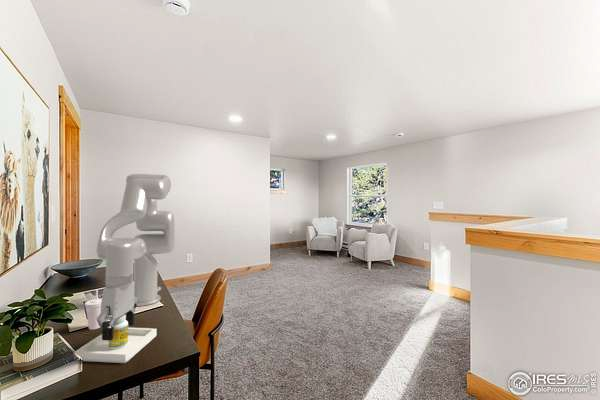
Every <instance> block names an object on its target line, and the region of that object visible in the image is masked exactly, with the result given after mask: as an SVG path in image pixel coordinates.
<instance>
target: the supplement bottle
mask: <svg viewBox="0 0 600 400" xmlns="http://www.w3.org/2000/svg"><path fill="white" fill-rule="evenodd" d="M125 319H126V314H123V315H122V316H120V317H119V318H117V319H115V320H114V323H113V325H112V327H113V340H111V341H110V340H109V348H110V349H119V348H122V347H124V346H126V345H127V343H128V327H129V325H128V321H127V320H125Z"/></svg>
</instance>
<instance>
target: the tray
mask: <svg viewBox="0 0 600 400" xmlns="http://www.w3.org/2000/svg"><path fill="white" fill-rule="evenodd" d="M157 334H158V333H157V328H149V327H130V326H128V343H127V345H126V346H124V347H122V348H119V349H110V348H109V340H102V333H101V334H100V335H98V336H97V337H95V338H93V339H92V340H89V342H87V343H86V344H84V345H83V346H81V347H80V348H78V349H77V350H74V352H75V353H76V354H77V355H79V356H80V357H81V358H82V360H83V361H82V362H97V363H99V362H100V363H116V364H117V363H118V364H126V363H127V362H129V361H130V360H131V359H132V358H133V357H134V356H136V354H138V353H139V352H140V351H141V350H142V349H143V348H144V347H145V346H147V345H148V344H149V343H150V342H151V341H152V340H154V339H155V337H157Z"/></svg>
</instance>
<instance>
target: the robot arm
mask: <svg viewBox="0 0 600 400" xmlns="http://www.w3.org/2000/svg"><path fill="white" fill-rule="evenodd" d="M125 182H126V184H125V188H124V191H123V198H122V203H121V207H120V211H119V212H118V213H116V214H115V215H113V216H112V217H111V218H110V219H109V220H107V222H106V223H105V224H104V225H103V227H102V228H101V230H100V233H99V237H98V240H97V245H96V254H97V258H99V259H100V260H102V261H105V287H104V288H103V291H102V295H101V299H102V301H101V313H100V315H99V316H98V317H97V322H98V323H99V324H98V325H99V326H100V328H101V334H102V340H110V341H111V340H113V327H112V325H113V323H114V320H115V319H117V318H119V317H120V316H122V315H123V314H126V319H125V320H127V321H128V327H130V326H134V325H135V313H136V307H142V306H143V307H144V306H149V305H153V304H156V303H158V302H159V301H160V300H161V299H162V298H161V295H160V294H158V293H159V291H161V290H162V287H161V286H158V267H159V266H158V261H157V259H156V258H155V257H154V255H160V254H161V255H165V254H171V253H172V252H173V251H174V249H175V216H174V214H173V212H172V211H169V210H158V202H157V201H158V200H159V201H160V200H161V201H162V200H164V199H165V198H166V197H167V196H168V193H170V190H171V187H172V186H171V185H172V182H171V178H170V177H169V176H168V175H166V174H164V175H163V174H148V173H132V174H129V175H128V176H127V177H126V179H125ZM134 223H135V225H136V229H137V230H139V231H141V232H162V233H141V234H137V235H135V236H134V237H113V235H114V234H115V233H116V232H117V231H118V230H119V229H122V228H124V227H125V226H128V225H130V224H134ZM112 237H113V238H112ZM108 321H109V322H108Z"/></svg>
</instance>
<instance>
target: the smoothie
mask: <svg viewBox="0 0 600 400" xmlns="http://www.w3.org/2000/svg"><path fill="white" fill-rule="evenodd" d="M98 292H99V290H98V289H96V290H95V298H94V299H93V298H92V299H90V300H87V301H85V303H84V307H85V312H86V318H87V327H88V329H89V330H91V331H92V330H97V329H99V328H101V327H100V326H99V325H98V324H99V323H98V322H97V317H98V316H99V315H100V313H101V301H102V298H99V297H98Z"/></svg>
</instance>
